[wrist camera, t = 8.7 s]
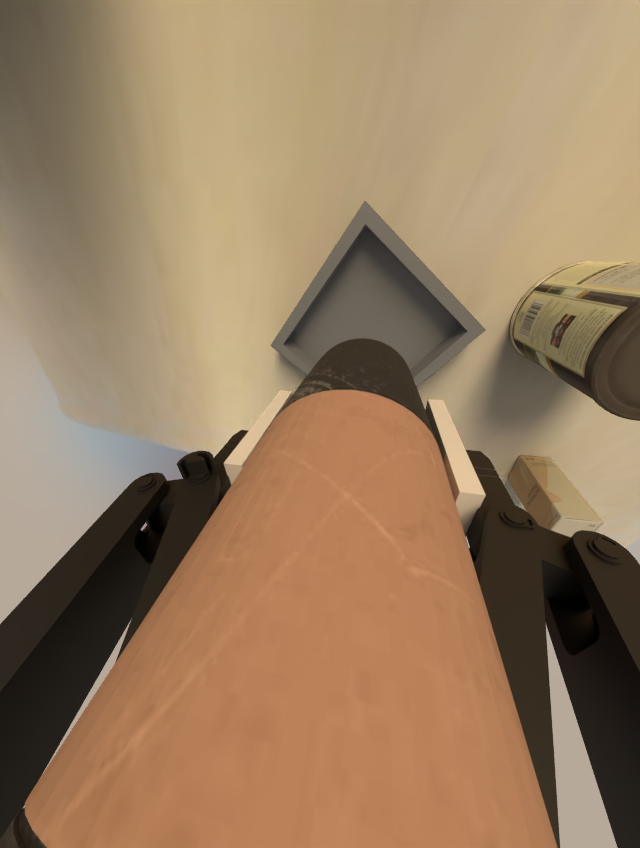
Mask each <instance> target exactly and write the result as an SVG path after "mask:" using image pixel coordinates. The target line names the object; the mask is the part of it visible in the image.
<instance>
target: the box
mask: <svg viewBox="0 0 640 848" xmlns="http://www.w3.org/2000/svg"><path fill="white" fill-rule="evenodd" d="M508 479H509V481H510V483H511V485H512V486H513V488H514V490H515V492H516V493H517V495H518V497H519V499H520V500H521V502H522V504H523V506H524V507H525V509H526V511H527V513H529V514H530V515H531V516H532V517H533V518H534V519H535V521H536V522H537V524H538V525H539V526H541V527H544V528H546V529H549V530H552V531H554V532H557V533H560V534H563V535H566V536H568V537H572V536H573V534H574V533H575V532H577V531H581V530H587V531H593V532H596V530H597V529H598V528H599V527H600V526H601V525H602V524H603V523H604V522H603V521H602V519H601V518H600V517H599V516H598V515H597V513H596V512H595V511H594V510H593V509H592V507H591V506H590V505H589V504H588V502H587V501H586V500H585V499H584V498H583V496H582V495H581V494H580V493H579V492H578V490H577V489H576V488H575V487H574V486H573V484H572V483H571V482H570V481H569V480H568V478H567V477H566V476H565V475H564V474H563V472H562V471H561V470H560V469H559V467H558V466H557V465H556V464H555V463H554V462H553V460H552V459H551V458H543V457H531V456H519V458H518V460H517V462H516V463H515V465H514V467H513V469H512V471H511V473H510V475H509V477H508Z"/></svg>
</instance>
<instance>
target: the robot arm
mask: <svg viewBox="0 0 640 848" xmlns="http://www.w3.org/2000/svg"><path fill="white" fill-rule="evenodd" d="M291 396H292V391H279V393H278V394H277V395H276V397H275V398H274V399H273V400H272V402H271V403H270V404H269V406H268V407H267V408H266V409H265V411H264V412H263V413H262V414H261V416H260V417H259V418H258V420H257V421H256V422H255V423H254V425H253V426H252V427H251V429H250V430H249V431H246V430H241V431H239V432H238V433H236V434H235V435H233V436H232V437H231V439H230V440H229V441H228V443H226V445H225V446H224V447H223V448H222V449H221V450H220V452H219V453H218V454H217V455H216V456H215V457H214V458H213V455H212V454H211V453H210V452H207V451H197V452H193V453H190V454H188V455H186V456H184V457H183V458H182V459H180V460H179V462H178V463H177V466H178V468H179V470H180V472H181V475H182V477H183V479H179V480H171V481H167V480H166V478H165V476H164V475H163V474H161V473H149V474H146V475H144V476H141V477H139V478H138V479H136V480H135V481H133V482H132V483H131V484H130V485H129V486H128V487H127V488H126V489H125V490H124V491H123V493H122V494H121V495H120V496H119V497H118V498H117V499H116V500H115V501H114V502H113V503H112V504H111V506H110V507H109V508H108V509H107V510H106V511H105V512H104V513H103V514H102V515H101V516H100V517H99V518H98V519H97V521H96V522H95V523H94V524H93V525H92V526H91V527H90V528H89V529H88V530H87V531H86V533H85V534H84V535H83V536H82V537H81V538H80V539H79V540H78V541H77V542H76V543H75V544H74V545H73V546H72V547H71V549H70V550H69V551H68V552H67V553H66V554H65V555H64V556H63V557H62V558H61V559H60V560H59V562H58V563H57V564H56V565H55V566H54V567H53V568H52V569H51V570H50V571H49V572H48V573H47V574H46V576H45V577H44V578H43V579H42V580H41V581H40V582H39V583H38V584H37V585H36V586H35V587H34V588H33V590H32V591H31V592H30V593H29V594H28V595H27V596H26V597H25V598H24V599H23V600H22V601H21V603H20V604H19V605H18V606H17V607H16V608H15V609H14V610H13V611H12V612H11V613H10V614H9V615H8V616H7V618H6V619H5V620H4V621H3V622H2V623H1V624H0V839H1V837H2V836H3V834H4V833H5V831H6V830H7V828H8V827H9V825H10V824H11V822H12V821H13V819H14V818H15V816H16V815H17V813H18V812H19V811H20V810H22V808H23V806H24V805H25V802H26V800H27V798H28V797H29V795H30V793H31V792H32V790H33V788H34V787H35V785H36V784H37V782H38V781H39V779H40V777H41V775H42V774H43V772H44V770H45V768H46V766H47V765H48V763H49V761H50V759H51V758H52V756H53V754H54V753H55V751H56V749H57V747H58V746H59V744H60V742H61V740H62V739H63V737H64V735H65V733H66V732H67V730H68V728H69V726H70V724H71V723H72V721H73V719H74V718H75V716H76V714H77V712H78V711H79V709H80V707H81V706H82V704H83V702H84V700H85V699H86V697H87V695H88V693H89V691H90V689H91V688H92V686H93V685H94V683H95V681H96V679H97V678H98V676H99V674H100V672H101V671H102V669H103V667H104V665H105V663H106V662H107V660H108V658H109V657H110V655H111V653H112V651H113V650H114V648H115V646H116V644H117V643H118V641H119V639H120V637H121V636H122V634H123V632H124V630H125V629H126V627H127V625H128V623H129V622H130V620H131V618H132V620H131V623H130V625H129V628H128V631H127V633H126V636H125V639H124V641H123V644H122V646H121V649H120V652H119V655H118V657H117V660H118V658H119V657H120V655H121V654H122V652H123V651H124V649H125V648H126V646H127V645H128V643H129V641H130V640H131V638H132V637H133V635H134V634H135V632H136V631H137V629H138V628H139V626H140V625H141V623H142V622H143V620H144V618H145V617H146V615H147V614H148V612H149V611H150V609H151V608H152V606H153V605H154V603H155V602H156V600H157V599H158V597H159V596H160V594H161V592H162V591H163V589H164V588H165V586H166V585H167V583H168V582H169V580H170V579H171V577H172V576H173V574H174V573H175V571H176V569H177V568H178V566H179V565H180V563H181V562H182V560H183V559H184V557H185V556H186V554H187V553H188V551H189V550H190V548H191V547H192V545H193V543H194V542H195V540H196V539H197V537H198V536H199V534H200V533H201V531H202V530H203V528H204V527H205V525H206V524H207V522H208V520H209V519H210V517H211V516H212V514H213V513H214V511H215V510H216V508H217V507H218V505H219V504H220V502H221V501H222V499H223V498H224V496H225V494H226V493H227V491H228V490H229V488H230V487H231V485H232V484H233V482H234V481H235V479H236V478H237V476H238V475H239V473H240V471H241V470H242V468H243V467H244V465H245V464H246V462H247V461H248V459H249V458H250V456H251V455H252V453H253V452H254V450H255V449H256V447H257V445H258V444H259V442H260V441H261V439H262V438H263V436H264V435H265V433H266V432H267V430H268V429H269V427H270V426H271V424H272V422H273V421H274V419H275V418H276V417H277V415H278V414H279V412H280V411H281V410H282V408H283V407H284V406H285V404H286V403H287V402H288V400H289V399H290V398H291ZM425 411H426V414H427V417H428V420H429V422H430V425H431V428H432V430H433V433H434V436H435V438H436V441H437V444H438V447H439V450H440V453H441V456H442V460H443V463H444V466H445V470H446V473H447V477H448V480H449V483H450V487H451V490H452V493H453V497H454V500H455V504H456V507H457V510H458V514H459V517H460V520H461V524H462V527H463V531H464V534H465V537H466V536H467V539H468V542H469V545H470V548H469V551H470V554H471V558H472V561H473V564H474V568H475V571H476V574H477V578H478V581H479V585H480V588H481V591H482V595H483V598H484V601H485V605H486V608H487V611H488V615H489V618H490V622H491V625H492V628H493V632H494V635H495V638H496V642H497V645H498V649H499V652H500V655H501V659H502V662H503V665H504V669H505V672H506V676H507V679H508V682H509V686H510V689H511V692H512V696H513V699H514V703H515V706H516V709H517V713H518V716H519V719H520V723H521V726H522V730H523V733H524V736H525V740H526V743H527V746H528V750H529V753H530V756H531V760H532V763H533V767H534V770H535V773H536V777H537V780H538V783H539V787H540V790H541V794H542V797H543V800H544V804H545V807H546V810H547V814H548V817H549V821H550V824H551V827H552V831H553V834H554V837H555V841H556V844H557V848H560V840H559V824H558V809H557V795H556V778H555V763H554V748H553V733H552V717H551V703H550V687H549V670H548V656H547V640H546V626H545V625H547V628H548V631H549V634H550V637H551V641H552V643H553V647H554V650H555V653H556V656H557V659H558V662H559V665H560V669H561V672H562V675H563V678H564V681H565V684H566V687H567V691H568V693H569V697H570V700H571V703H572V706H573V709H574V713H575V716H576V719H577V722H578V725H579V728H580V731H581V734H582V737H583V741H584V744H585V747H586V750H587V753H588V756H589V759H590V762H591V766H592V769H593V772H594V775H595V778H596V781H597V784H598V788H599V790H600V794H601V797H602V800H603V803H604V806H605V809H606V812H607V816H608V819H609V822H610V825H611V828H612V831H613V834H614V838H615V841H616V844H617V847H618V848H640V565H639V563H638V562H637V560H636V559H635V558H634V557H633V556H632V555H631V553H630V552H629V551H627V549H625V548H624V547H623V546H621V545H620V544H619V543H617V542H616V541H614V540H612V539H610V538H608V537H607V536H605V535H602V534H599V533H596V532H593V531H587V530H581V531H577V532H575V533H574V534H573V536H572V537H568V536H566V535H563V534H560V533H557V532H554V531H552V530H549V529H546V528H544V527H541V526H539V525H538V524H537V522H536V521H535V519H534V518H533V517H532V516H531V515H530V514H529V513H527V512H526V511H525V510H523V509H521V508H519V507H517V506H515V505H514V503H513V501H512V499H511V497H510V495H509V494H508V492H507V490H506V488H505V486H504V485H503V483H502V481H501V479H500V478H499V476H498V474H497V472H496V470H495V468H494V466H493V465H492V463H491V461H490V459H488V458H487V457H486V456H485V455H484V454H483V453H482V452H480V451H471V450H465V448H464V446H463V443H462V441H461V439H460V437H459V435H458V432H457V430H456V428H455V426H454V423H453V421H452V419H451V417H450V415H449V412H448V410H447V408H446V406H445V403H444V401H443V400H432V399H428V401H427V406H426V410H425ZM145 522H146V523H147V526H146V527H145V529H144V530H143V531H141V528H142V526H143V525H144V524H145ZM545 622H546V624H545ZM117 660H116V661H117ZM115 663H116V662H115Z"/></svg>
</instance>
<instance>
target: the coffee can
mask: <svg viewBox="0 0 640 848" xmlns="http://www.w3.org/2000/svg"><path fill="white" fill-rule="evenodd" d="M510 339H511V342H512V344H513V346H514V348H515V349H516V350H517V351H518V352H519V353H520V354H521V355H523V356H525V357H526V358H529V359H531V360H532V361H534V362H535V363H537V364H539V365H540V366H542V367H543V368H545V369H546V370H548V371H550V372H551V373H553V374H554V375H556V376H558V377H559V378H561V379H562V380H564V381H565V382H567V383H568V384H570V385H571V386H573V387H575V388H576V389H578V390H579V391H581V392H582V393H584V394H586V395H587V396H589V397H590V398H592V399H593V400H594V401H595V402H596V403H597V404H598V405H599V406H601V407H602V408H603V409H605V410H606V411H608V412H610V413H611V414H614V415H616V416H619V417H622V418H626V419H630V420H637V421H640V262H598V261H584V262H579V263H574V264H571V265H568V266H565V267H562V268H559V269H558V270H556V271H554V272H552V273H550V274H549V275H547V276H546V277H544V278H543V279H541V280H540V281H539V282H537V283H536V284H535V285H534V286H533V287H532V288H531V289H530V290H529V291H528V292H527V293H526V294H525V295H524V296H523V298H522V299H521V300H520V302H519V304H518V305H517V307H516V309H515V311H514V313H513V316H512V319H511V323H510Z"/></svg>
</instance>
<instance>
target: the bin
mask: <svg viewBox="0 0 640 848" xmlns="http://www.w3.org/2000/svg"><path fill="white" fill-rule="evenodd" d="M484 331H485V329H484V328H483V326H482V325H481V324H480V323H479V322H478V321H477V320H476V319H475V318H474V317H473V316H472V315H471V314H470V313H469V311H468V310H467V309H466V308H465V307H464V306H463V305H462V304H461V303H460V302H459V301H458V300H457V299H456V298H455V296H454V295H453V294H452V293H451V292H450V291H449V290H448V289H447V288H446V287H445V286H444V285H443V284H442V283H441V281H440V280H439V279H438V278H437V277H436V276H435V275H434V274H433V273H432V272H431V271H430V270H429V269H428V268H427V266H426V265H425V264H424V263H423V262H422V261H421V260H420V259H419V258H418V257H417V256H416V255H415V254H414V253H413V252H412V250H411V249H410V248H409V247H408V246H407V245H406V244H405V243H404V242H403V241H402V240H401V239H400V238H399V237H398V235H397V234H396V233H395V232H394V231H393V230H392V229H391V228H390V227H389V226H388V225H387V224H386V223H385V222H384V220H383V219H382V218H381V217H380V216H379V215H378V214H377V213H376V212H375V211H374V210H373V209H372V208H371V207H370V205H369V204H368V203H367V202H366V201H364V203H363V204H362V206H361V208H360V209H359V211H358V212H357V214H356V215H355V217H354V218H353V220H352V221H351V223H350V224H349V226H348V227H347V229H346V231H345V232H344V234H343V235H342V237H341V238H340V240H339V241H338V243H337V244H336V246H335V247H334V249H333V250H332V252H331V254H330V255H329V257H328V258H327V260H326V261H325V263H324V264H323V266H322V267H321V269H320V270H319V272H318V274H317V275H316V277H315V278H314V280H313V281H312V283H311V284H310V286H309V287H308V289H307V290H306V292H305V293H304V295H303V297H302V298H301V300H300V301H299V303H298V304H297V306H296V307H295V309H294V310H293V312H292V313H291V315H290V316H289V318H288V320H287V321H286V323H285V324H284V326H283V327H282V329H281V330H280V332H279V333H278V335H277V336H276V338H275V340H274V341H273V343H272V344H271V346H272V347H273V348H274V349H275V350H277V351H278V352H279V353H280V354H281V355H283V356H284V357H285V358H286V359H288V360H289V361H290V362H291V363H292V364H294V365H295V366H296V367H297V368H299V369H300V370H301V371H302V372H303V373H305V374H306V375H308V374H309V373H310V371H311V370H312V369H313V367H314V366H315V365H316V363H317V362H318V361H319V360H320V358H321V357H322V356H323V355H324V354H325V353H326V352H327V351H328V350H330V349H331V348H332V347H334V346H335V345H337V344H339V343H341V342H344V341H347V340H351V339H357V338H366V339H373V340H377V341H380V342H383V343H385V344H387V345H389V346H391V347H392V348H393V349H395V350H396V351H397V352H398V353H399V354H400V355H401V356H402V357H403V359H404V360H405V362H406V363H407V365H408V367H409V369H410V372H411V374H412V377H413V379H414V382H415V385H416V387H417V386H419V385H420V384H421V383H422V382H423V381H425V380H426V379H427V378H428V377H430V376H431V375H432V374H433V373H434V372H436V371H437V370H438V369H439V368H440V367H442V366H443V365H444V364H445V363H446V362H448V361H449V360H450V359H451V358H452V357H454V356H455V355H456V354H457V353H459V352H460V351H461V350H462V349H463V348H465V347H466V346H467V345H468V344H469V343H471V342H472V341H473V340H474V339H475V338H477V337H478V336H479V335H480V334H482V333H483V332H484Z"/></svg>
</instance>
